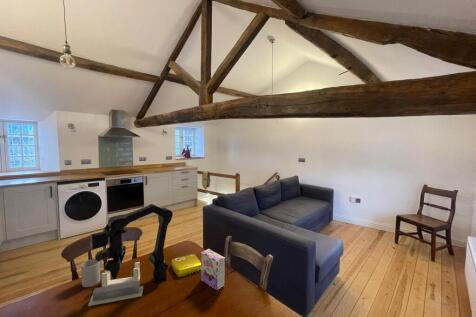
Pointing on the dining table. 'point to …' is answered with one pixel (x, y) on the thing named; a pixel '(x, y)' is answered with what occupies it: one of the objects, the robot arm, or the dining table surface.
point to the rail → (116, 291)
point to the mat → (116, 298)
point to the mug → (90, 272)
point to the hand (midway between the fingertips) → (116, 273)
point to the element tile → (186, 265)
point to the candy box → (212, 269)
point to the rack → (108, 282)
